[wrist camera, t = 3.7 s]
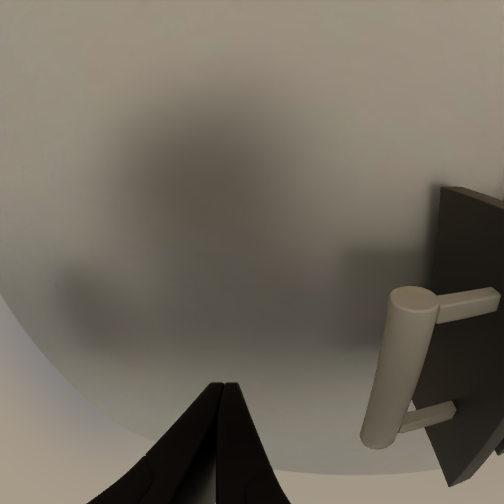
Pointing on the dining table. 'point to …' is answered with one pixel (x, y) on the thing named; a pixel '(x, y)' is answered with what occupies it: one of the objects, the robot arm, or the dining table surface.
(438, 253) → the drawer
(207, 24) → the dining table surface
